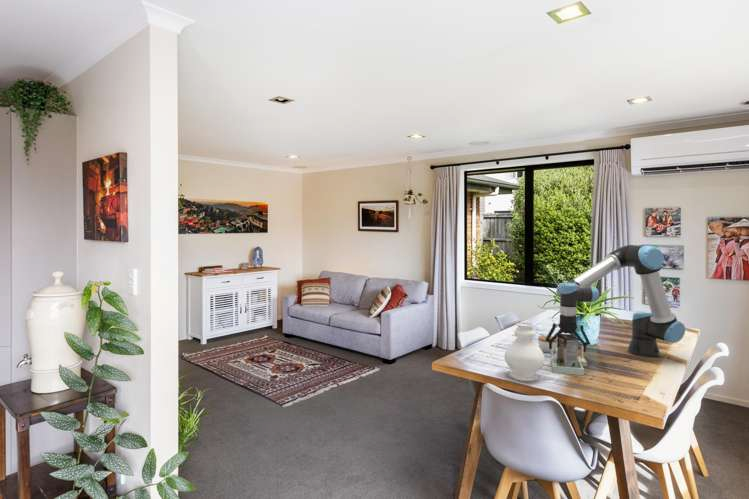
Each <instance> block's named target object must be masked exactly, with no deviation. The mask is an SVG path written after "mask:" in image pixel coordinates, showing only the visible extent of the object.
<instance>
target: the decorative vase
mask: <svg viewBox="0 0 749 499" xmlns="http://www.w3.org/2000/svg"><path fill="white" fill-rule="evenodd" d="M533 328H534V324H533V323H530V322H517V323H516V328H515V330H514V332H513V333H514V335H515V336H516V337H517V338H516V339H515V340H513V341H512V342H511V343H510V344H509V345H508V346H507V348H506V349H505V352H504V360H505V362H506V364H507V366H508V367H509V368H510V370H511V372H510V373H509V376H510V377H511V378H512V379H514V380H517V381H520V382H521V381H523V382H535V381H537V380H538V379H539V376H538V375H537V374H536V373H537V372H539V370H540V369H542V368H543V366H544V364H545V360H546V359H545V354H544V352H543V351H542V350H541V349H540V347H539V344H538V343H536V341H534V340H533V338H535V336H536V330H534V329H533Z"/></svg>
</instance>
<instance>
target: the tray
mask: <svg viewBox="0 0 749 499" xmlns="http://www.w3.org/2000/svg"><path fill="white" fill-rule="evenodd" d="M550 365H551V370H552V373H555V374H565V375H573V376H575V375H576V376H584V375H585V368H584V366H582V364H581V362H580V360H577V368H572V367H562V366H557V357H550Z"/></svg>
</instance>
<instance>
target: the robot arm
mask: <svg viewBox="0 0 749 499" xmlns="http://www.w3.org/2000/svg"><path fill="white" fill-rule="evenodd" d="M664 261H665V257H664V254H663V252H662V250H661V249H660V248H658V247H656V246H653V245H640V244H639V245H638V244H628V245H627V244H626V245H624V246H623V245H622V246H619V247H618V248H616V249H614V250H612V251H611V252H609V253H608V254H606V255H605V258H604V259H602V260H600V261H599V262H598V263H596V264H594V265H593V266H591V267H590V268H588V269H587V270H585V271H584V272H582V273H581V274H579V275H577V276H576V277H574V278H572V279H571V280H569V281H568V282H561V283H559V284H557V287H556V293H557V294H558V295H559V296H560V297H559V300H560V301H559V304H560V306H559V313H560V314H559V323H555V322H553V323H552V326H551V328H550V331H548V333H547V335H546V336H547V337H546V339H545V340H546V341H547V342H549V349H551V353H550V355H551V357H554V352H553V347H554V343H553V341H554V340H555V339H556V338H558V336H559V335H560V334H570V335H572V334H574V337H576V338H577V339H578V341H579V342H580V343H581V344H580V356H581V359H583V357H584V353H586V352H587V346H588V345H590V346H591V342H590V340H589V338H588V336H587V335H586V332H585V330H584V329H585V328H584V326H583V324H577V313H578V312H577V311H578V308H577V307H578V303H592V302H593V303H594V302H597V301H598V299H599V298H600V291H599V289H598V288H597V287H595V286H592V285H594V284H595V283H596V282H598V281H599V280H601V279H602V278H604V277H606V276H607V275H609V274H610V273H612V272H613V271H619V270H620V269H622V268H625V267H630V268H633V269H634V271H635V274H636V275H638V276H639V277H640V279H641V283H642V286H643V290H644V292H645V296H646V299H647V303H648V305H649V309H650V312H635V313H633V315H632V320H631V323H632V324H631V327H632V330H631V333H632V334H631V339H630V342H629V344H628V347H627V352H628V353H629V354H632V355H635V356H638V355H639V357H644V356H646V357H645V358H656V357H657V356H658V357H659V356H660V352H661V351H660V348H659V346H658V342H657V340H660V341H662V342H666V343H672V344H677V343H678V342H680V341H681V340H682V339H683V337H684V335H685V333H686V326H685V324H684V323H683V322H681V321H678V319H677V316H676V314H675V313H674V312H672V311H671V308H670V304H669V301H668V297H667V295H666V291H665V288H664V285H663V284H664V283H663V281H662V278H661V274H660V271H661V270H662V266H663V264H664ZM558 328H559V329H558ZM556 329H558V331H557V332H556V333H555V334H554V332H555V330H556ZM577 329H578V330H579V331H580V332H581V334H582V336H583V338H582V337H581V336H580V335H579V334H578V333H577V331H576V330H577ZM553 334H554V335H553ZM551 336H553V337H552V338H551V339H550V337H551ZM583 339H584V340H585V341H584V340H583ZM647 356H648V357H647Z"/></svg>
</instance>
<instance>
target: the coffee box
mask: <svg viewBox="0 0 749 499" xmlns="http://www.w3.org/2000/svg"><path fill="white" fill-rule="evenodd" d="M557 338H558V341H557V349H556V352H557V353H556V354H557V355H556V358H557V366H562V367H572V368H577V359H578V356H579V355H578V353H579V339H578V338H577V337H576V336H575V335H572V334H569V333H562V334H560V335H559V336H558V337H557Z"/></svg>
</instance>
